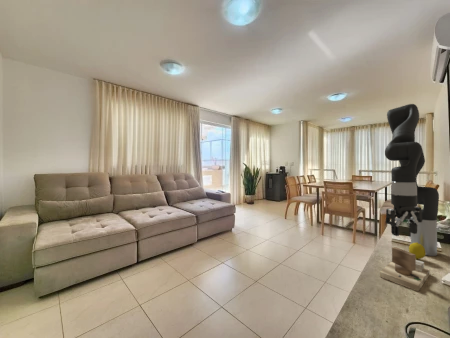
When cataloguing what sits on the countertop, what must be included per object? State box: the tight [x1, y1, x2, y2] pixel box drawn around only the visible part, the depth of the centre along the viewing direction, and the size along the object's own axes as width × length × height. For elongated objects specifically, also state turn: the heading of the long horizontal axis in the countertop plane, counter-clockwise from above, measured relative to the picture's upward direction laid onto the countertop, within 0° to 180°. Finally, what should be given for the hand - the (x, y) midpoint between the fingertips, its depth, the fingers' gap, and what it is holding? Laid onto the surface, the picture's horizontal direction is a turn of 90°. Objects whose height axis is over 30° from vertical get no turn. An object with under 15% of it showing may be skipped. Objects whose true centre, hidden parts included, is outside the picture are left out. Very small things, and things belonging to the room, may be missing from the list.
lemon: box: [408, 242, 426, 260], centre depth 89 cm, size 6×6×8 cm
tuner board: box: [379, 259, 431, 292], centre depth 77 cm, size 18×11×4 cm, turn 124°
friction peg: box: [391, 246, 419, 279], centre depth 75 cm, size 8×5×8 cm, turn 10°
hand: (404, 234), depth 75 cm, fingers open, 8 cm apart
